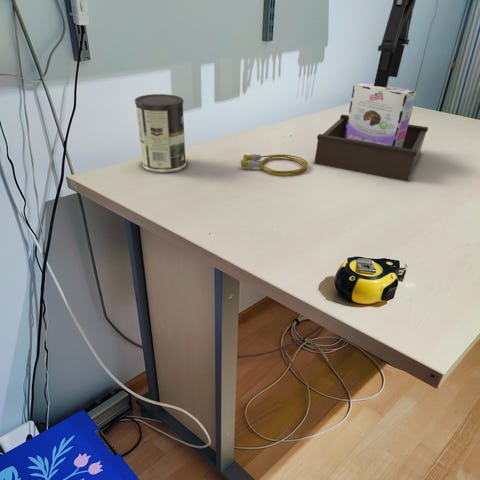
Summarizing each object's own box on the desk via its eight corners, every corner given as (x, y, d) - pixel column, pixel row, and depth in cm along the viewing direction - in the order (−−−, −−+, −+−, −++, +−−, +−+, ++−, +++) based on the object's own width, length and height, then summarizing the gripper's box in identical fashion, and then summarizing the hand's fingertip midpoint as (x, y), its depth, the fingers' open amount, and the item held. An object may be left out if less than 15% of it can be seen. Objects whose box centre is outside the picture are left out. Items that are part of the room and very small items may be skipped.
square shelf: (420, 153, 113) (428, 127, 109) (408, 181, 97) (416, 152, 93) (337, 139, 120) (342, 114, 116) (313, 163, 104) (317, 135, 100)
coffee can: (179, 155, 105) (175, 92, 96) (191, 170, 98) (189, 103, 89) (137, 159, 102) (130, 94, 93) (147, 175, 94) (140, 106, 85)
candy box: (399, 162, 107) (419, 90, 96) (387, 168, 103) (407, 93, 93) (352, 149, 114) (366, 80, 103) (340, 153, 110) (353, 83, 100)
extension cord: (253, 153, 108) (253, 145, 107) (312, 163, 104) (314, 155, 103) (235, 168, 99) (235, 159, 98) (299, 180, 95) (300, 171, 94)
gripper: (404, -39, 94) (380, 71, 107) (383, -43, 76) (357, 88, 90) (439, -37, 92) (410, 74, 105) (426, -41, 74) (393, 93, 88)
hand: (385, 81), depth 98 cm, fingers open, 13 cm apart
